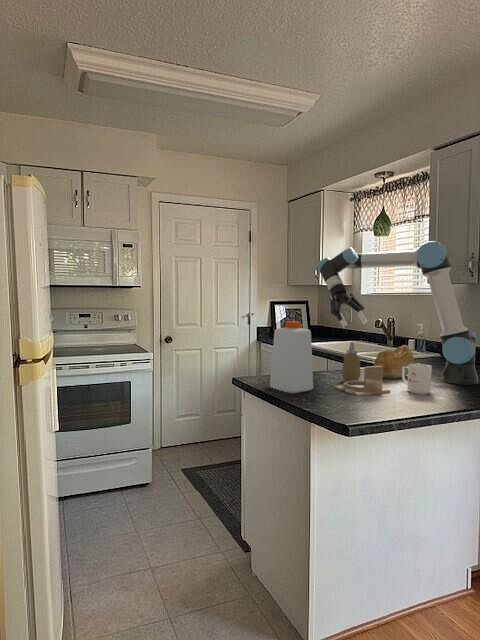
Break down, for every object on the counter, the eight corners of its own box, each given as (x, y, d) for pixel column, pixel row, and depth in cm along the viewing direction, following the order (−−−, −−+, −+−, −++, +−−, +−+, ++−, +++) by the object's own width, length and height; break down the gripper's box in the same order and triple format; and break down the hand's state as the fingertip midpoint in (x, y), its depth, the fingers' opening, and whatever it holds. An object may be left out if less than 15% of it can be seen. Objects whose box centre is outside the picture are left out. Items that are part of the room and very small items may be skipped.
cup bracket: (333, 387, 190) (334, 361, 189) (364, 384, 196) (365, 359, 195) (357, 395, 175) (358, 368, 174) (390, 392, 181) (391, 365, 180)
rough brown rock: (390, 372, 231) (388, 343, 231) (419, 374, 218) (418, 344, 218) (361, 378, 218) (359, 348, 217) (391, 381, 204) (389, 349, 204)
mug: (434, 392, 182) (436, 365, 182) (424, 395, 177) (425, 368, 176) (407, 387, 192) (408, 361, 191) (396, 390, 186) (397, 363, 185)
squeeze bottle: (350, 384, 196) (351, 343, 195) (338, 381, 203) (339, 341, 202) (364, 382, 200) (365, 342, 199) (351, 379, 207) (353, 340, 206)
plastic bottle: (265, 387, 187) (266, 321, 185) (291, 383, 196) (293, 320, 194) (290, 395, 175) (292, 323, 173) (317, 390, 184) (319, 322, 182)
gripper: (349, 290, 227) (368, 326, 219) (312, 292, 213) (331, 331, 205) (358, 281, 221) (378, 318, 213) (321, 283, 208) (341, 322, 200)
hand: (355, 324), depth 209 cm, fingers open, 13 cm apart
